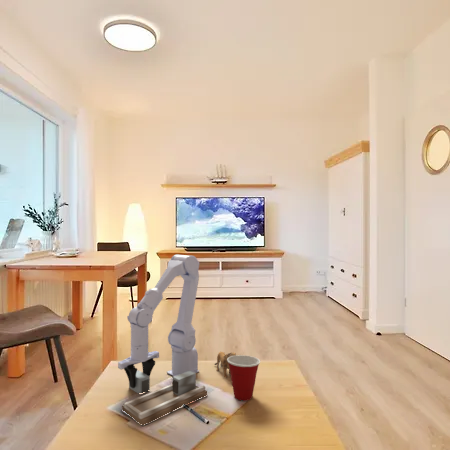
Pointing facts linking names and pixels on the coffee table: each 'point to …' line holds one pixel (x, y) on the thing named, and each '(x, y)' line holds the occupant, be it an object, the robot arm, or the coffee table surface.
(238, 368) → the plastic cup
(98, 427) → the coffee table surface
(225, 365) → the lion figurine
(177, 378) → the raised edge track
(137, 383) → the gripped grey block
